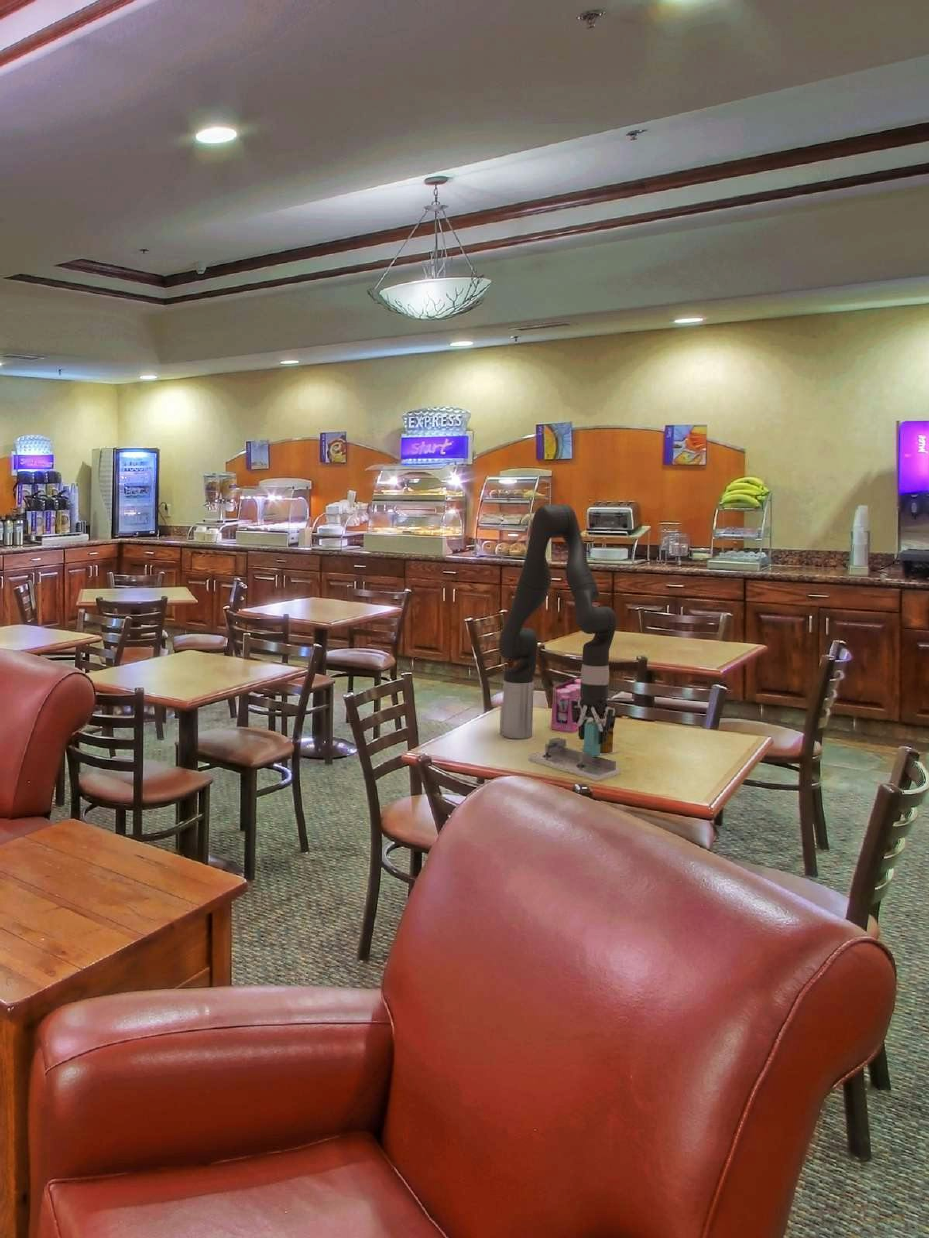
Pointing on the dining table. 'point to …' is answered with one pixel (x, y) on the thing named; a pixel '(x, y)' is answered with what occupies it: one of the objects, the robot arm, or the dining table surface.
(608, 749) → the condiment
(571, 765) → the hole plate
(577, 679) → the gum box
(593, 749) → the leg
